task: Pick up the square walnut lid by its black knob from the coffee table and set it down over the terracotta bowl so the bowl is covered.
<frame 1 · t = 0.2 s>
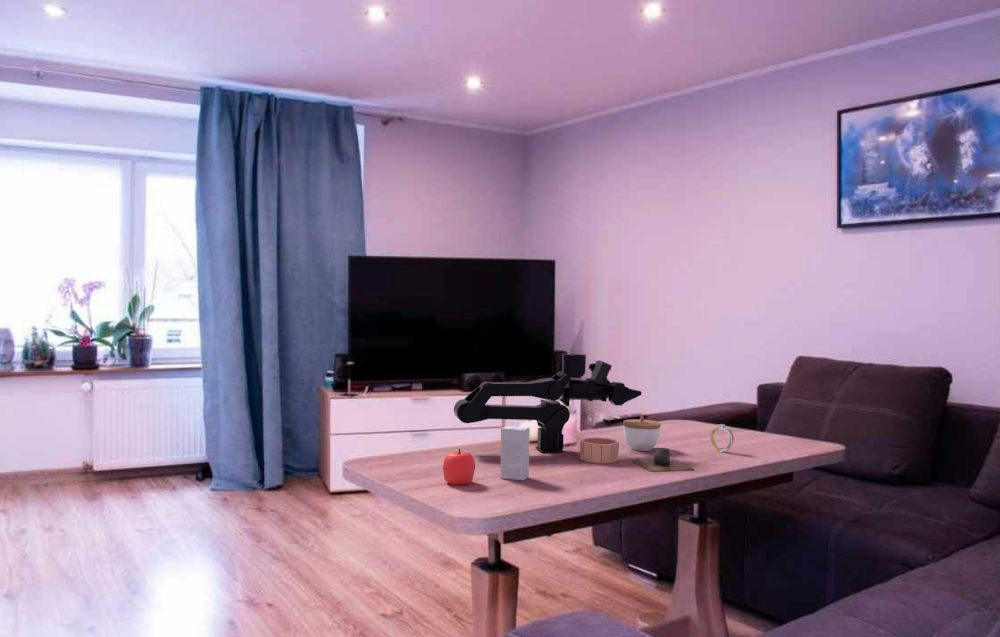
hand: (634, 391, 215), 17 cm above the table, tool horizontal, fingers open, 9 cm apart
terracotta bowl: (599, 459, 199), on the table
skincare box: (514, 478, 176), on the table
apple: (458, 483, 170), on the table
bracelet: (721, 452, 214), on the table
lidded jar: (640, 449, 216), on the table
walnut lid: (661, 468, 194), on the table
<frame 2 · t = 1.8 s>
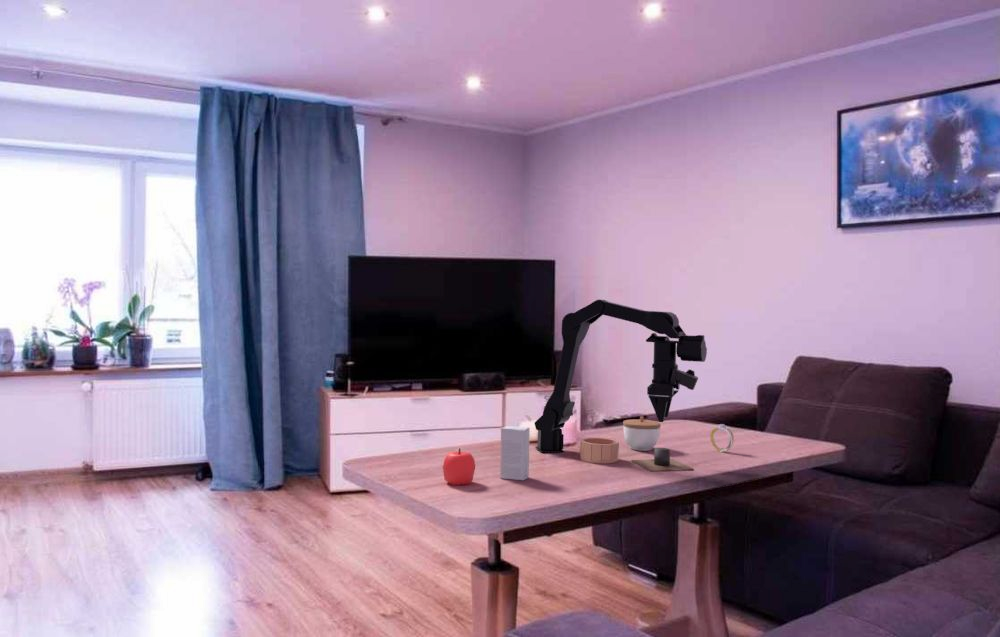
hand: (663, 419, 194), 12 cm above the table, tool pointing down, fingers open, 9 cm apart
nothing on the table moved.
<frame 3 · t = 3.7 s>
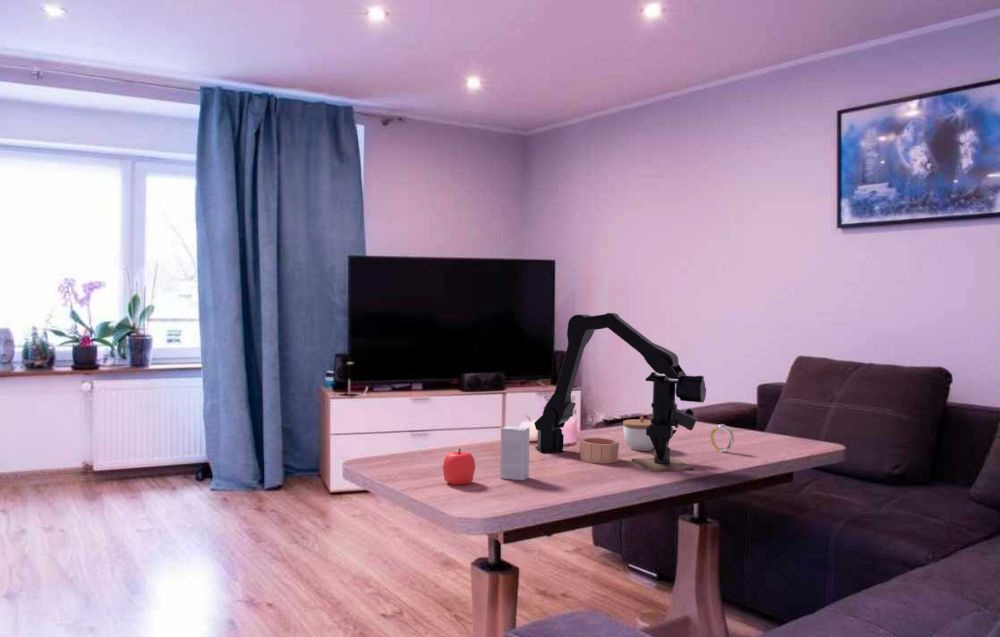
hand: (662, 458, 194), 2 cm above the table, tool pointing down, fingers closed on walnut lid, 4 cm apart
walnut lid: (661, 466, 194), on the table, touching gripper
everything else where it was.
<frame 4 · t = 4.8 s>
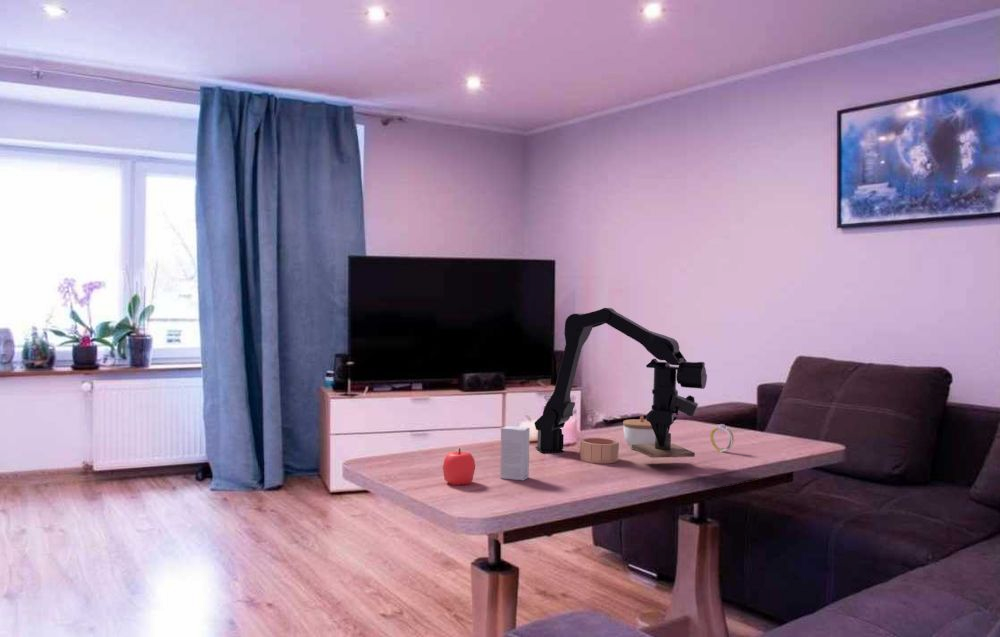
hand: (662, 445, 194), 5 cm above the table, tool pointing down, fingers closed on walnut lid, 4 cm apart
walnut lid: (662, 452, 194), point 4 cm above the table, touching gripper
everything else where it was.
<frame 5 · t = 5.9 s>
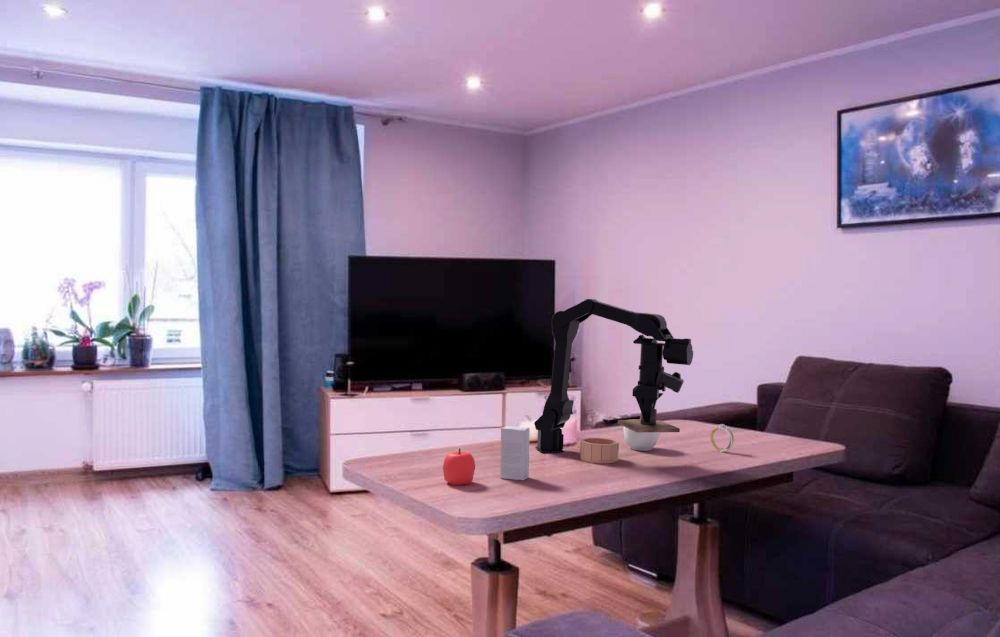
hand: (648, 420, 195), 11 cm above the table, tool pointing down, fingers closed on walnut lid, 4 cm apart
walnut lid: (647, 427, 195), point 10 cm above the table, touching gripper
everything else where it was.
when the fingers open (8 cm above the table, at t = 8.0 s): walnut lid drops 2 cm, resting on terracotta bowl.
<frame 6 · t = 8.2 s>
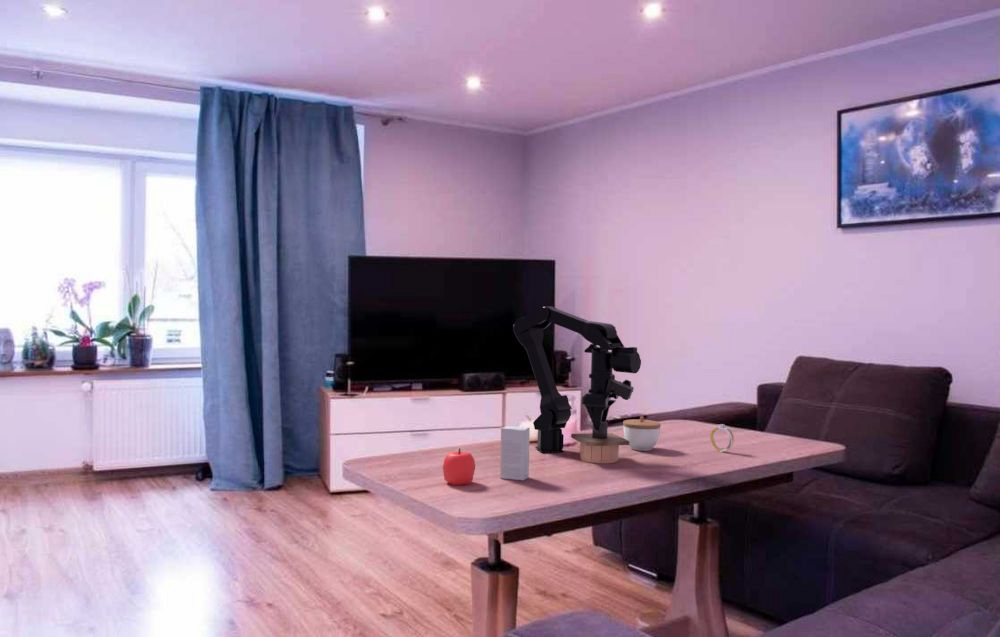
hand: (599, 428, 199), 8 cm above the table, tool pointing down, fingers open, 6 cm apart
walnut lid: (599, 441, 199), point 5 cm above the table, touching terracotta bowl
everything else where it was.
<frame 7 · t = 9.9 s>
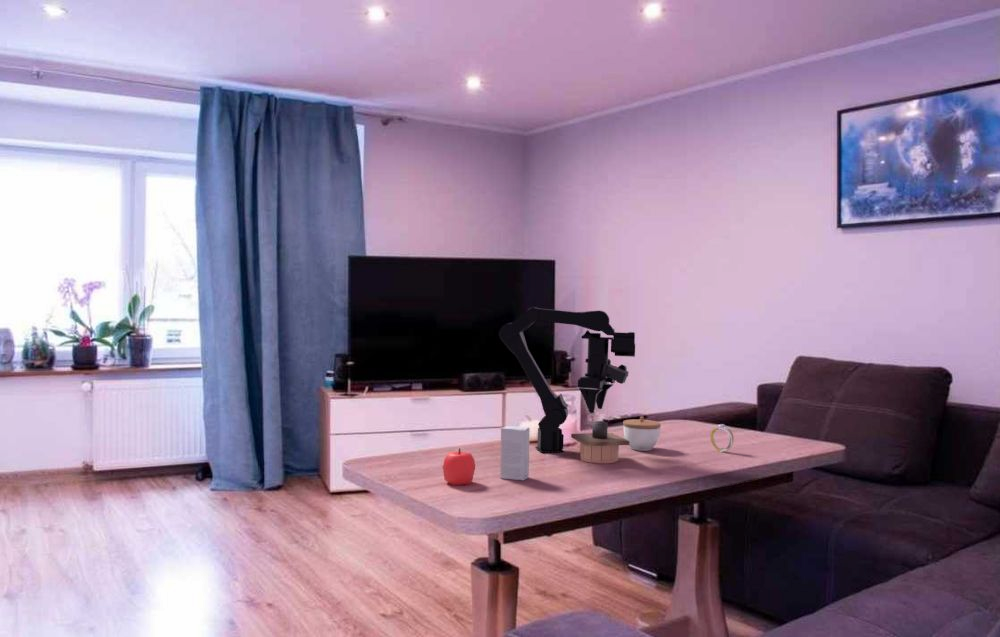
hand: (595, 410, 207), 12 cm above the table, tool pointing down, fingers open, 9 cm apart
nothing on the table moved.
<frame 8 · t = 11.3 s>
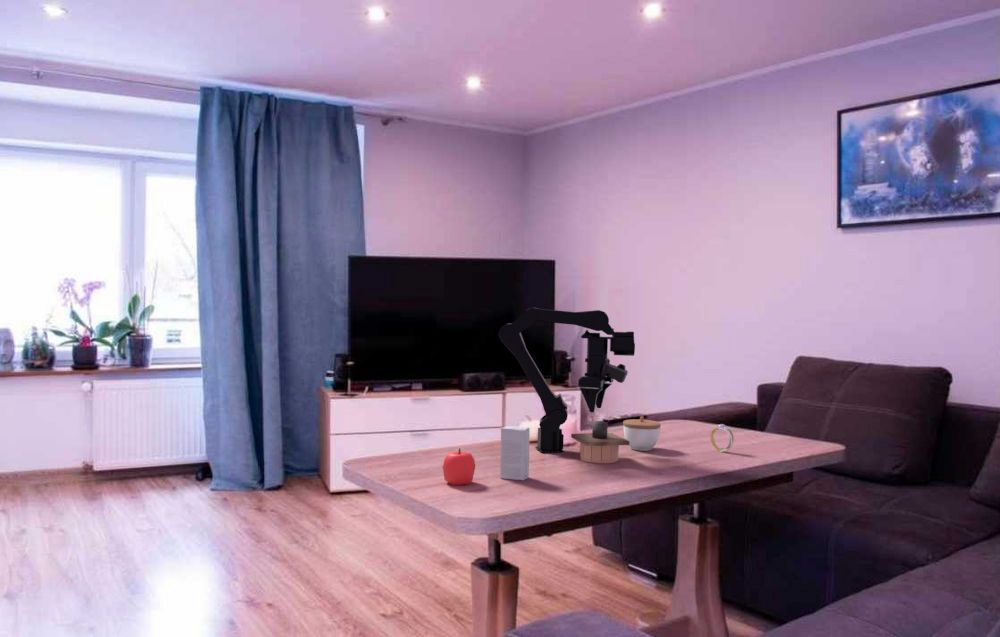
hand: (595, 410, 208), 12 cm above the table, tool pointing down, fingers open, 9 cm apart
nothing on the table moved.
at the end: walnut lid 0.0 cm off-centre on the terracotta bowl, point 5.0 cm above the terracotta bowl's base; walnut lid tilted 0°; the gripper is holding nothing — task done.
